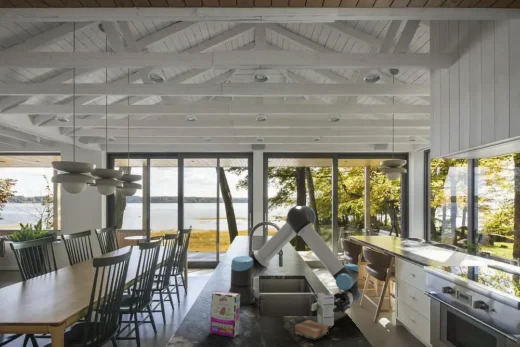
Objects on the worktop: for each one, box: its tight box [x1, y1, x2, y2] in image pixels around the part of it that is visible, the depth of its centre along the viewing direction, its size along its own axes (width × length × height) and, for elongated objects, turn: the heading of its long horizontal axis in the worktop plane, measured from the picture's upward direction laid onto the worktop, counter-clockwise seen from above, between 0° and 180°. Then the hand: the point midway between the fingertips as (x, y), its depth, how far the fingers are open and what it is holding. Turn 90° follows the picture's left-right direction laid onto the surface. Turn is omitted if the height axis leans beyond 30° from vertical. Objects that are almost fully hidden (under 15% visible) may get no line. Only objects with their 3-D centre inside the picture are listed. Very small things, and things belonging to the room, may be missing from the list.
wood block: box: [294, 319, 329, 338], centre depth 153 cm, size 10×10×4 cm
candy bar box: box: [209, 290, 241, 338], centre depth 150 cm, size 11×5×16 cm, turn 69°
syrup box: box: [316, 291, 335, 326], centre depth 163 cm, size 6×6×14 cm
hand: (320, 309), depth 160 cm, fingers closed on syrup box, 8 cm apart
